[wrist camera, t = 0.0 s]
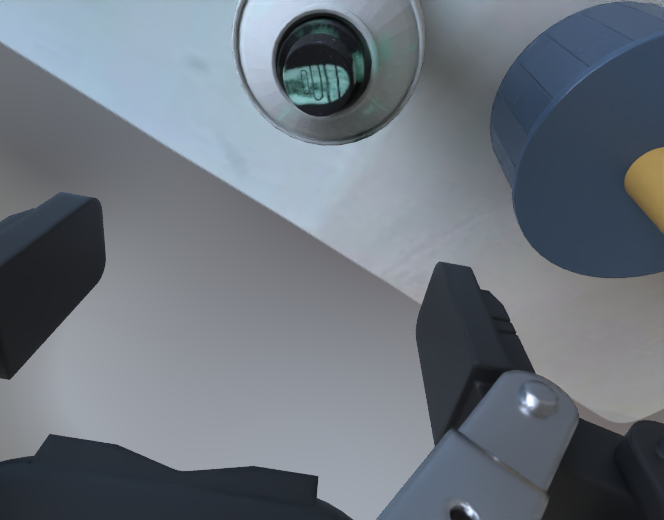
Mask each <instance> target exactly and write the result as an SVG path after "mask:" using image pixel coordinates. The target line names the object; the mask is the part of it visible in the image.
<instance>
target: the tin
mask: <svg viewBox="0 0 664 520" xmlns="http://www.w3.org/2000/svg"><path fill="white" fill-rule="evenodd" d="M663 30H664V8H663V7H661V6H658V5H654V4H645V3H638V2H613V3H608V4H602V5H598V6H594V7H591V8H588V9H585V10H582V11H580V12H577V13H575V14H573V15H571V16H568V17H567V18H565V19H563V20H561V21H560V22H558V23H556V24H554V25H553V26H552V27H550V28H549V29H547V30H546V31H545V32H543V33H542V34H541V35H539V36H538V37H537V38H536V39H535V40H534V41H533V42H532V43H531V44H529V45H528V46H527V48H526V49H525V50H524V51H523V52H522V53H521V54H520V55H519V56H518V58H517V59H516V60H515V62H514V63H513V64H512V66H511V67H510V69H509V70H508V72H507V74H506V75H505V77H504V79H503V80H502V82H501V85H500V87H499V89H498V92H497V94H496V97H495V100H494V104H493V107H492V113H491V119H490V133H491V142H492V147H493V151H494V153H495V155H496V157H497V159H498V161H499V163H500V165H501V167H502V170H503V172H504V174H505V176H506V178H507V180H508V182H509V184H510V186H511V188H512V183H513V175H514V170H515V166H516V162H517V159H518V156H519V153H520V151H521V148H522V146H523V144H524V142H525V140H526V138H527V136H528V134H529V132H530V130H531V128H532V127H533V125H534V124H535V122H536V121H537V119H538V118H539V116H540V115H541V113H542V112H543V111H544V110H545V108H546V107H547V106H548V105H549V104H550V102H551V101H552V100H553V99H554V98H555V97H556V96H557V95H558V94H559V93H560V92H561V91H562V90H563V89H564V88H565V87H566V86H567V85H568V84H569V83H570V82H571V81H572V80H573V79H575V78H576V77H577V76H578V75H579V74H581V73H582V72H583V71H584V70H586V69H587V68H588V67H590V66H591V65H593V64H594V63H596V62H597V61H599V60H600V59H602V58H603V57H605V56H606V55H608V54H609V53H611V52H613V51H615V50H617V49H619V48H621V47H623V46H625V45H626V44H628V43H630V42H633V41H635V40H638V39H640V38H643V37H645V36H648V35H650V34H652V33H656V32H659V31H663Z"/></svg>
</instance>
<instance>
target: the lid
mask: <svg viewBox="0 0 664 520" xmlns="http://www.w3.org/2000/svg"><path fill="white" fill-rule="evenodd" d="M512 200H513V208H514V212H515V215H516V219H517V222H518V224H519V226H520V228H521V230H522V232H523V234H524V236H525V238H526V239H527V240H528V242H529V243H530V245H531V246H532V247H533V248H534V249H535V250H536V251H537V252H538V253H539V254H540V255H541V256H543V257H544V258H546V259H547V260H548V261H550V262H551V263H553V264H555V265H557V266H559V267H561V268H563V269H566V270H569V271H571V272H574V273H578V274H582V275H587V276H592V277H601V278H627V277H638V276H644V275H650V274H655V273H659V272H663V271H664V30H663V31H659V32H656V33H652V34H650V35H648V36H645V37H643V38H640V39H638V40H635V41H633V42H630V43H628V44H626V45H625V46H623V47H621V48H619V49H617V50H615V51H613V52H611V53H609V54H608V55H606V56H605V57H603V58H602V59H600V60H599V61H597V62H596V63H594V64H593V65H591V66H590V67H588V68H587V69H586V70H584V71H583V72H582V73H581V74H579V75H578V76H577V77H576V78H575V79H573V80H572V81H571V82H570V83H569V84H568V85H567V86H566V87H565V88H564V89H563V90H562V91H561V92H560V93H559V94H558V95H557V96H556V97H555V98H554V99H553V100H552V101H551V102H550V104H549V105H548V106H547V107H546V108H545V110H544V111H543V112H542V113H541V115H540V116H539V118H538V119H537V121H536V122H535V124H534V125H533V127H532V128H531V130H530V132H529V134H528V136H527V138H526V140H525V142H524V144H523V146H522V148H521V151H520V153H519V156H518V159H517V162H516V166H515V170H514V175H513V183H512Z"/></svg>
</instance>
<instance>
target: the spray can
mask: <svg viewBox="0 0 664 520" xmlns="http://www.w3.org/2000/svg"><path fill="white" fill-rule="evenodd" d="M425 37H426V34H425V25H424V16H423V12H422V8H421V5H420V2H419V0H239V2H238V5H237V7H236V12H235V17H234V21H233V26H232V52H233V58H234V64H235V69H236V72H237V74H238V77H239V80H240V83H241V86H242V88H243V89H244V91H245V93H246V95H247V96H248V98H249V100H250V102H251V103H252V104H253V106H254V107H255V108H256V109H257V110H258V112H259V113H260V114H261V115H262V116H263V117H264V118H265V119H266V120H267V121H268V122H269V123H271V124H272V125H273V126H274V127H275V128H277V129H278V130H280V131H282V132H284V133H285V134H287V135H289V136H290V137H293V138H296V139H298V140H301V141H304V142H306V143H312V144H318V145H343V144H348V143H353V142H357V141H359V140H362V139H364V138H367V137H369V136H372V135H373V134H375V133H376V132H378V131H379V130H381V129H382V128H384V127H386V126H387V125H388V124H389V123H390V122H391V121H392V120H393V119H394V118H395V117H396V116H397V115H398V114H399V113H400V112H401V110H402V109H403V108H404V106H405V105H406V103H407V102H408V101H409V99H410V97H411V95H412V93H413V91H414V89H415V87H416V84H417V82H418V79H419V75H420V71H421V68H422V64H423V58H424V51H425Z"/></svg>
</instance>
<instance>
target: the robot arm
mask: <svg viewBox="0 0 664 520" xmlns="http://www.w3.org/2000/svg"><path fill="white" fill-rule="evenodd" d="M105 256H106V255H105V241H104V228H103V215H102V207H101V204H100V202H99V200H98V199H96V198H92V197H86V196H81V195H76V194H71V193H64V192H61V193H58V194H57V195H55V196H54V197H52V198H51V199H49V200H48V201H46V202H45V203H43V204H41V205H40V206H38V207H37V208H35V209H34V208H33V209H30V210H27V211H24V212H21V213H18V214H14V215H11V216H9V217H7V218H6V219H4V220H2V221H1V222H0V378H2V379H9V380H10V379H11V378H12V377H13V376H14V374H16V372H17V371H18V370H19V369H20V368H21V367H22V366H23V365H24V364H25V363H26V361H27V360H28V359H29V358H30V357H31V356H32V355H33V354H34V353H35V352H36V350H37V349H38V348H39V347H40V346H41V345H42V344H43V343H44V342H45V341H46V339H47V338H48V337H49V336H50V335H51V334H52V333H53V332H54V331H55V329H56V328H57V327H58V326H59V325H60V324H61V323H62V322H63V321H64V320H65V318H66V317H67V316H68V315H69V314H70V313H71V312H72V311H73V310H74V309H75V307H76V306H77V305H78V304H79V303H80V302H81V301H82V300H83V299H84V297H85V296H86V295H87V294H88V293H89V292H90V291H91V290H92V289H93V287H95V285H96V284H97V283H98V281H99V280H100V279H101V277H102V274H103V271H104V268H105V261H106V257H105ZM416 341H417V346H418V352H419V358H420V364H421V370H422V375H423V381H424V387H425V393H426V398H427V404H428V410H429V415H430V421H431V427H432V433H433V438H434V444H435V447H434V449H433V450H432V451H431V452H430V454H429V455H428V456H427V457H426V459H425V460H424V461H423V462H422V464H421V465H420V466H419V467H418V468H417V470H416V471H415V472H414V473H413V475H412V476H411V477H410V478H409V479H408V481H407V482H406V483H405V485H404V486H403V487H402V488H401V489H400V490H399V492H398V493H397V494H396V495H395V497H394V498H393V499H392V500H391V502H390V503H389V504H388V505H387V506H386V508H385V509H384V510H383V511H382V513H381V514H380V515H379V516H378V517H377V519H376V520H664V424H663V423H659V422H656V421H648V420H643V421H638V422H636V423H634V424H633V425H632V427H631V428H630V429H629V431H628V432H627V433H626V435H625V436H622V435H620V434H617V433H614V432H612V431H610V430H607V429H605V428H602V427H600V426H597V425H595V424H593V423H590V422H588V421H585V420H583V419H581V418H579V413H578V410H577V407H576V405H575V404H574V402H573V401H572V399H571V398H570V397H569V396H568V394H567V393H566V392H564V391H563V390H562V389H561V388H560V387H559V386H557V385H556V384H555V383H553V382H551V381H550V380H548V379H546V378H544V377H542V376H540V375H537V374H536V373H535V371H534V369H533V367H532V365H531V362H530V360H529V358H528V356H527V354H526V352H525V350H524V348H523V346H522V344H521V341H520V339H519V337H518V335H516V331H515V329H514V327H513V325H512V323H510V318H509V316H508V314H507V312H506V310H505V308H504V306H503V304H502V303H501V302H499V301H498V300H497V299H496V298H495V297H494V296H493V295H492V294H491V293H490V292H489V291H487V290H481V289H480V287H479V285H478V283H477V280H476V278H475V275H474V273H473V271H472V269H471V268H470V267H467V266H462V265H456V264H451V263H445V262H438V263H437V264H436V266H435V268H434V271H433V274H432V276H431V279H430V282H429V285H428V288H427V291H426V294H425V297H424V300H423V303H422V306H421V309H420V312H419V315H418V319H417V325H416ZM317 486H318V476H313V475H307V474H301V473H294V472H288V471H281V470H275V469H268V468H263V467H256V466H249V467H237V468H223V469H211V470H197V471H178V470H175V469H172V468H169V467H167V466H165V465H163V464H161V463H158V462H156V461H154V460H151V459H149V458H147V457H144V456H142V455H140V454H137V453H135V452H133V451H131V450H128V449H126V448H124V447H121V446H119V445H116V444H110V443H103V442H97V441H90V440H84V439H78V438H71V437H65V436H59V435H52V434H50V435H49V436H48V437H47V439H46V440H45V441H44V443H43V444H42V446H41V447H40V449H39V450H38V451H37V453H36V454H35V456H28V457H22V458H16V459H10V460H6V461H2V462H0V520H353V519H351V518H350V517H349V516H347V515H346V514H345V513H343V512H342V511H341V510H339V509H337V508H335V507H334V506H332V505H330V504H329V503H327V502H325V501H322V500H320V499H318V498H317Z"/></svg>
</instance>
